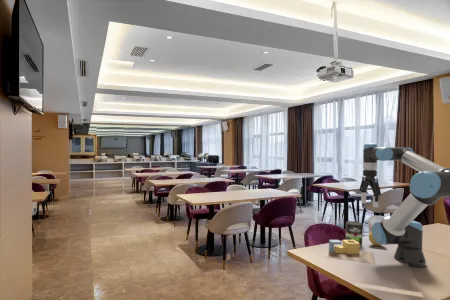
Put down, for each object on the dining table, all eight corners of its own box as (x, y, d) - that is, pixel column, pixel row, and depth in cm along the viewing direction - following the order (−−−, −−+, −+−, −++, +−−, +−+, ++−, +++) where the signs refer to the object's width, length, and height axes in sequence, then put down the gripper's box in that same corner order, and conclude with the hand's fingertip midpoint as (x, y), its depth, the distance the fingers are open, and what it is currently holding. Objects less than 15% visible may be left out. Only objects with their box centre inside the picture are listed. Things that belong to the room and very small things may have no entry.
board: (372, 254, 182) (372, 252, 182) (375, 266, 163) (375, 264, 163) (329, 249, 191) (329, 247, 191) (327, 260, 172) (327, 257, 172)
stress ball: (373, 249, 196) (387, 241, 192) (363, 235, 201) (376, 227, 197) (377, 248, 203) (390, 240, 199) (367, 234, 208) (380, 226, 204)
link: (337, 253, 178) (337, 243, 178) (332, 249, 185) (332, 239, 185) (359, 253, 179) (359, 243, 179) (353, 249, 186) (353, 239, 186)
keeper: (338, 250, 184) (338, 239, 184) (341, 253, 180) (341, 242, 180) (328, 250, 184) (328, 239, 184) (331, 253, 179) (331, 242, 179)
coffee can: (363, 247, 195) (364, 225, 195) (346, 246, 197) (346, 224, 197) (360, 243, 205) (361, 221, 205) (344, 241, 207) (344, 220, 207)
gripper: (388, 171, 173) (387, 209, 173) (365, 168, 198) (364, 201, 198) (375, 171, 172) (374, 209, 172) (353, 168, 197) (353, 201, 197)
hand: (369, 205), depth 185 cm, fingers open, 13 cm apart
